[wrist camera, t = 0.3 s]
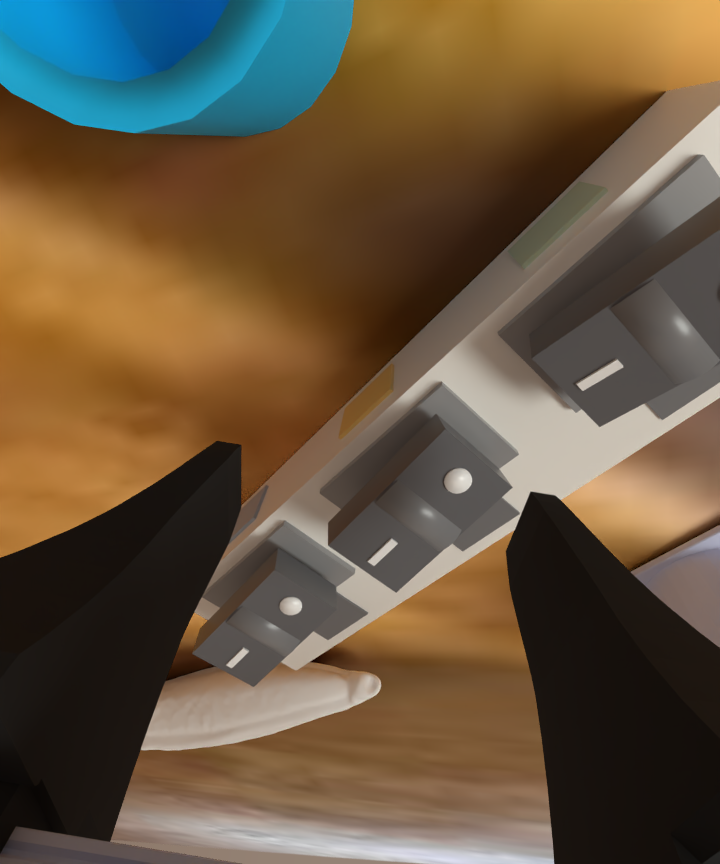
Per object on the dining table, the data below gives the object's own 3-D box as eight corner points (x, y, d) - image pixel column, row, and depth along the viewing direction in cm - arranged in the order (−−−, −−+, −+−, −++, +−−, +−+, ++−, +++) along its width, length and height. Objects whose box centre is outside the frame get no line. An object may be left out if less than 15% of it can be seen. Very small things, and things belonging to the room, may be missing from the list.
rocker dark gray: (496, 465, 17) (515, 490, 15) (390, 564, 18) (396, 596, 17) (435, 411, 16) (446, 431, 14) (328, 519, 18) (327, 549, 16)
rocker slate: (336, 583, 21) (336, 613, 19) (258, 657, 22) (253, 691, 21) (278, 544, 20) (274, 572, 18) (201, 624, 21) (190, 657, 20)
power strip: (983, 111, 15) (1197, 100, 11) (309, 603, 30) (294, 676, 26) (879, -124, 12) (1102, -248, 9) (205, 537, 27) (170, 605, 23)
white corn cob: (391, 669, 33) (389, 742, 29) (154, 712, 38) (125, 779, 34) (361, 621, 31) (355, 694, 26) (113, 675, 36) (76, 742, 32)
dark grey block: (796, 278, 12) (833, 309, 11) (591, 396, 15) (600, 431, 14) (731, 183, 11) (764, 204, 10) (528, 330, 14) (531, 362, 13)
